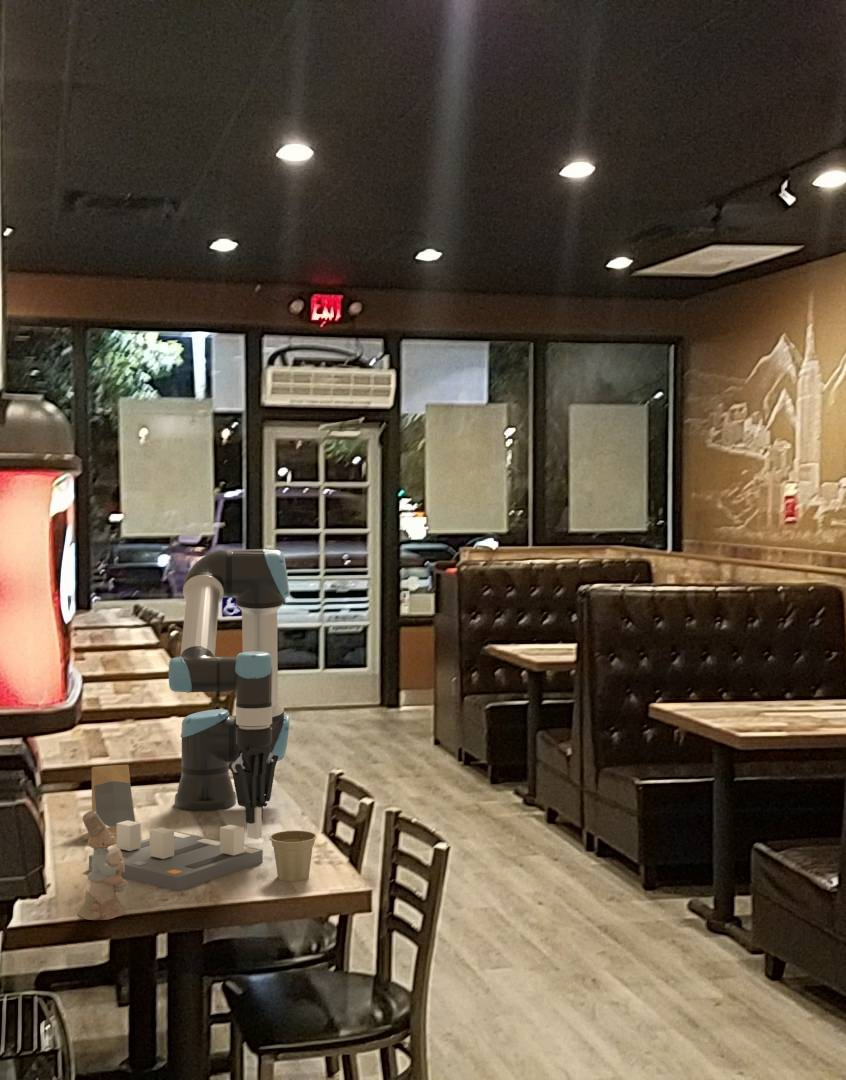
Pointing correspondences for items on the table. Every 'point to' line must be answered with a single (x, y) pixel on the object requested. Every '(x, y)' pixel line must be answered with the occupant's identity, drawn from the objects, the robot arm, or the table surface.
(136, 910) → the table surface
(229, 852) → the white upright block
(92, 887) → the figurine
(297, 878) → the flower pot
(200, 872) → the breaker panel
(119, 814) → the sandwich container
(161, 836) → the middle handle
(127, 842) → the side handle
